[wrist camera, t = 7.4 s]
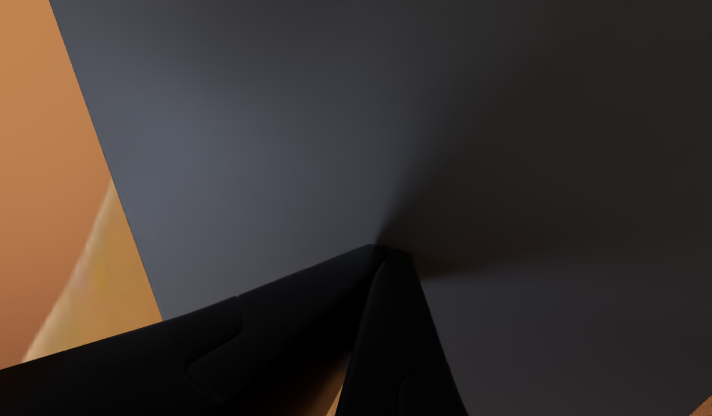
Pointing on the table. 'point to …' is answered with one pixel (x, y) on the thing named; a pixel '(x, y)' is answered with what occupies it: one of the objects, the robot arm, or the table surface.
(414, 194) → the dark flat rectangular panel
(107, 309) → the table surface
